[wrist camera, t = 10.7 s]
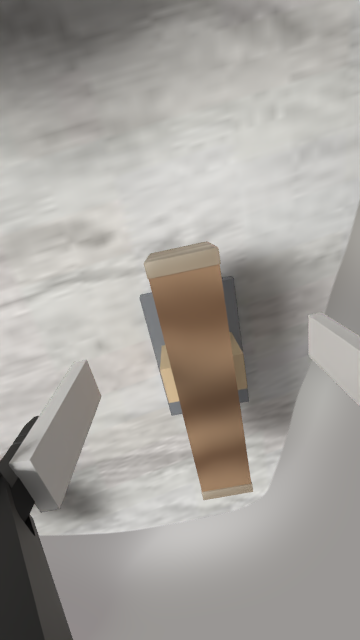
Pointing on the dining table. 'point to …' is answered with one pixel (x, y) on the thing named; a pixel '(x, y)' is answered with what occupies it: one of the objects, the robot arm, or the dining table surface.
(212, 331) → the beam
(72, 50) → the dining table surface
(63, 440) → the robot arm
